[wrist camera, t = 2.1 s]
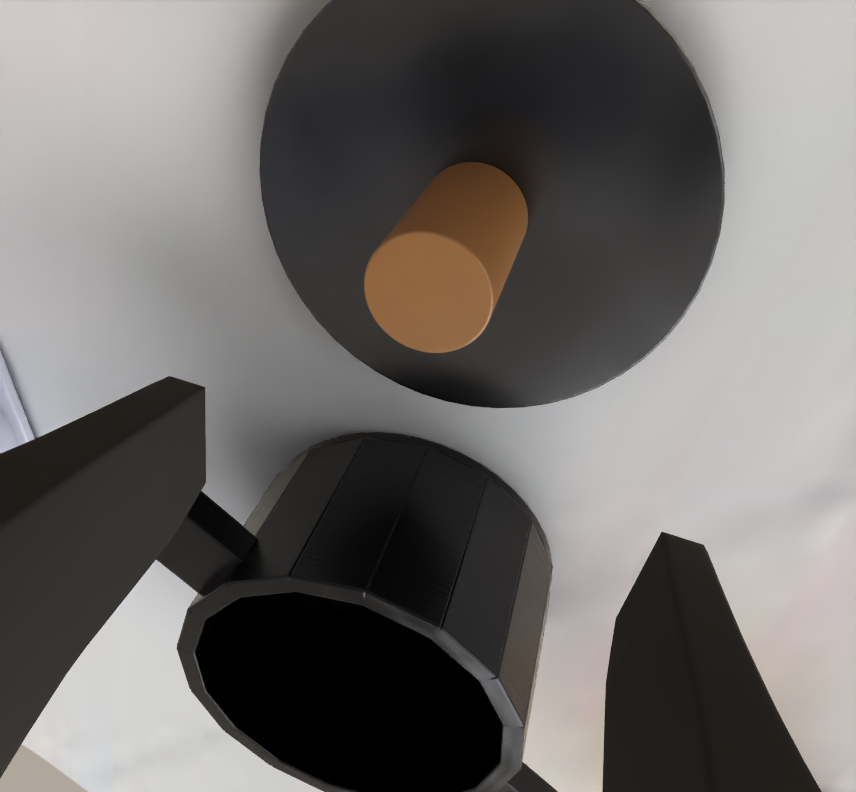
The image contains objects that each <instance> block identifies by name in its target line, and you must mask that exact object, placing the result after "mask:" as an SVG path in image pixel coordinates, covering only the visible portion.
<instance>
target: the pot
mask: <svg viewBox="0 0 856 792" xmlns="http://www.w3.org/2000/svg"><path fill="white" fill-rule="evenodd" d="M156 560H158V561H159V562H160V563H161V564H163V565H164V566H165V567H166V568H168V569H169V570H170V571H171V572H173V573H174V574H175V575H176V576H178V577H179V578H180V579H181V580H183V581H184V582H185V583H186V584H188V585H189V586H190V587H191V588H193V589H194V590H195V591H196V592H198V594H197V596H196V597H195V599H194V600H193V602H192V603H191V605H190V606H189V608H188V610H187V613H186V616H185V620H184V623H183V627H182V630H181V634H180V637H179V640H178V644H177V650H178V654H179V657H180V660H181V663H182V666H183V669H184V672H185V675H186V678H187V681H188V684H189V688H190V689H191V691H192V692H193V694H194V695H195V696H196V697H197V698H198V700H199V701H200V702H201V703H202V705H203V706H204V707H205V708H206V710H207V711H208V712H209V713H210V715H211V716H212V717H213V718H214V719H215V721H216V722H217V723H218V724H219V726H220V727H221V728H222V729H223V730H225V732H226V733H228V734H229V735H230V736H232V737H233V738H234V739H236V740H237V741H238V742H240V743H241V744H242V745H244V746H245V747H246V748H248V749H249V750H250V751H252V752H253V753H254V754H256V755H257V756H258V757H260V758H261V759H262V760H264V761H265V762H266V763H268V764H269V765H272V766H273V767H274V768H276V769H278V770H280V771H282V772H284V773H287V774H289V775H291V776H293V777H295V778H297V779H299V780H301V781H303V782H305V783H307V784H309V785H311V786H313V787H316V788H318V789H320V790H322V791H324V792H558V791H556V790H555V789H554V788H553V787H552V786H551V785H549V784H548V783H547V782H546V781H545V780H543V779H542V778H541V777H540V776H539V775H538V774H536V773H535V772H534V771H533V770H532V769H530V768H529V767H528V766H527V765H526V764H524V763H523V762H522V759H523V754H524V748H525V742H526V736H527V730H528V724H529V718H530V712H531V706H532V700H533V694H534V688H535V682H536V677H537V671H538V665H539V659H540V653H541V647H542V641H543V635H544V629H545V623H546V617H547V611H548V605H549V595H550V586H551V581H552V568H553V566H552V561H551V555H550V549H549V546H548V543H547V540H546V537H545V534H544V532H543V530H542V528H541V527H540V525H539V523H538V521H537V519H536V517H535V516H534V514H533V513H532V512H531V510H530V509H529V507H528V506H527V505H526V503H525V502H524V501H523V500H522V499H521V498H520V497H519V496H518V495H517V493H516V492H515V491H514V490H513V489H512V488H511V487H510V486H508V485H507V484H506V483H505V482H504V481H503V480H501V479H500V478H499V477H498V476H497V475H495V474H494V473H493V472H491V471H490V470H488V469H487V468H485V467H484V466H482V465H481V464H479V463H478V462H476V461H474V460H472V459H470V458H469V457H467V456H465V455H463V454H461V453H459V452H457V451H454V450H452V449H450V448H447V447H445V446H443V445H440V444H437V443H433V442H430V441H427V440H424V439H420V438H415V437H411V436H406V435H401V434H390V433H357V434H349V435H343V436H339V437H335V438H332V439H328V440H325V441H323V442H321V443H318V444H316V445H314V446H312V447H310V448H308V449H307V450H305V451H304V452H302V453H301V454H299V455H298V456H297V457H296V458H295V459H294V460H293V461H291V462H290V463H289V464H288V465H287V467H286V468H285V469H284V470H283V471H282V472H281V473H279V474H278V475H277V476H276V478H275V479H274V481H273V482H272V484H271V485H270V487H269V488H268V490H267V491H266V493H265V494H264V496H263V497H262V499H261V500H260V502H259V503H258V505H257V506H256V508H255V509H254V511H253V512H252V514H251V515H250V517H249V518H248V520H247V521H246V523H245V524H244V526H242V525H241V524H240V523H239V522H238V521H236V520H235V519H234V518H233V517H232V516H230V515H229V514H228V513H227V512H226V511H225V510H223V509H222V508H221V507H220V506H219V505H217V504H216V503H215V502H214V501H213V500H211V499H210V498H209V497H208V496H207V495H206V494H204V493H203V492H202V491H201V492H200V493H199V495H198V497H197V499H196V500H195V502H194V504H193V505H192V507H191V509H190V511H189V512H188V514H187V516H186V517H185V519H184V520H183V522H182V524H181V525H180V527H179V528H178V530H177V532H176V533H175V535H174V536H173V538H172V539H171V540H170V541H169V543H168V544H167V545H166V547H165V548H164V549H163V551H162V552H161V553H160V554H159V556H158V557H157V558H156Z"/></svg>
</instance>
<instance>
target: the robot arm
mask: <svg viewBox="0 0 856 792" xmlns="http://www.w3.org/2000/svg"><path fill="white" fill-rule="evenodd" d="M205 483H206V438H205V387H202V386H199V385H196V384H193V383H190V382H186V381H183V380H180V379H177V378H174V377H171V376H169V377H167V378H164V379H162V380H160V381H157V382H155V383H153V384H151V385H149V386H147V387H144V388H142V389H140V390H138V391H136V392H134V393H132V394H130V395H128V396H126V397H124V398H122V399H119V400H117V401H115V402H113V403H111V404H109V405H107V406H105V407H103V408H101V409H99V410H97V411H95V412H92V413H90V414H88V415H86V416H84V417H82V418H80V419H77V420H75V421H73V422H71V423H69V424H67V425H65V426H62V427H60V428H58V429H56V430H54V431H52V432H50V433H47V434H45V435H43V436H41V437H39V438H36V439H35V438H34V435H33V432H32V430H31V427H30V425H29V422H28V420H27V417H26V415H25V412H24V410H23V407H22V404H21V402H20V399H19V397H18V394H17V392H16V389H15V387H14V384H13V382H12V379H11V377H10V374H9V371H8V369H7V366H6V364H5V361H4V359H3V356H2V354H1V351H0V778H1V776H2V775H3V773H4V771H5V770H6V768H7V766H8V765H9V763H10V762H11V760H12V758H13V757H14V755H15V754H16V752H17V750H18V749H19V747H20V745H21V744H22V742H23V741H24V739H25V737H26V736H27V734H28V732H29V731H30V729H31V728H32V726H33V725H34V723H35V722H36V720H37V718H38V717H39V715H40V714H41V712H42V711H43V709H44V708H45V706H46V705H47V703H48V701H49V700H50V698H51V697H52V695H53V694H54V692H55V691H56V689H57V688H58V686H59V684H60V683H61V681H62V680H63V678H64V677H65V675H66V674H67V672H68V671H69V670H70V668H71V667H72V665H73V664H74V663H75V661H76V660H77V659H78V657H79V656H80V654H81V653H82V652H83V650H84V649H85V648H86V646H87V645H88V644H89V643H90V641H91V640H92V639H93V638H94V636H95V635H96V634H97V633H98V631H99V630H100V629H101V628H102V626H103V625H104V624H105V623H106V621H107V620H108V619H109V618H110V616H111V615H112V614H113V612H114V611H115V610H116V609H117V607H118V606H119V605H120V604H121V602H122V601H123V600H124V599H125V597H126V596H127V595H128V594H129V592H130V591H131V590H132V589H133V587H134V586H135V585H136V584H137V582H138V581H139V580H140V579H141V577H142V576H143V575H144V574H145V572H146V571H147V570H148V568H149V567H150V566H151V565H152V563H153V562H154V561H155V560H156V558H157V557H158V556H159V554H160V553H161V552H162V551H163V549H164V548H165V547H166V545H167V544H168V543H169V541H170V540H171V539H172V538H173V536H174V535H175V533H176V532H177V530H178V528H179V527H180V525H181V524H182V522H183V520H184V519H185V517H186V516H187V514H188V512H189V511H190V509H191V507H192V505H193V504H194V502H195V500H196V499H197V497H198V495H199V493H200V492H201V490H202V488H203V486H204V485H205ZM603 792H821V790H820V788H819V787H818V785H817V783H816V781H815V780H814V778H813V776H812V774H811V773H810V771H809V769H808V767H807V765H806V764H805V762H804V760H803V758H802V756H801V755H800V753H799V751H798V749H797V747H796V745H795V743H794V741H793V739H792V738H791V736H790V734H789V732H788V730H787V728H786V726H785V724H784V723H783V721H782V719H781V717H780V715H779V713H778V711H777V709H776V707H775V705H774V703H773V701H772V699H771V697H770V695H769V693H768V690H767V688H766V686H765V684H764V682H763V680H762V678H761V676H760V673H759V671H758V669H757V667H756V665H755V663H754V661H753V659H752V656H751V654H750V652H749V650H748V648H747V645H746V643H745V641H744V639H743V636H742V634H741V632H740V630H739V627H738V625H737V623H736V620H735V618H734V616H733V613H732V611H731V609H730V606H729V604H728V601H727V599H726V596H725V594H724V592H723V589H722V587H721V584H720V582H719V579H718V577H717V574H716V572H715V569H714V567H713V564H712V562H711V560H710V557H709V555H708V552H707V550H706V549H705V547H704V545H702V544H699V543H696V542H692V541H689V540H686V539H683V538H680V537H677V536H674V535H670V534H667V533H664V532H661V534H660V536H659V538H658V540H657V542H656V544H655V546H654V548H653V549H652V551H651V553H650V555H649V557H648V559H647V561H646V563H645V565H644V566H643V568H642V570H641V572H640V574H639V576H638V578H637V580H636V582H635V583H634V585H633V587H632V589H631V591H630V593H629V595H628V597H627V599H626V600H625V602H624V604H623V606H622V608H621V610H620V612H619V614H618V616H617V617H616V621H615V628H614V634H613V640H612V646H611V652H610V659H609V666H608V673H607V680H606V699H605V728H604V763H603Z"/></svg>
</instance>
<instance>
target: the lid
mask: <svg viewBox="0 0 856 792" xmlns="http://www.w3.org/2000/svg"><path fill="white" fill-rule="evenodd" d="M260 181H261V193H262V201H263V206H264V211H265V216H266V220H267V225H268V229H269V232H270V235H271V238H272V241H273V244H274V247H275V250H276V253H277V255H278V257H279V259H280V261H281V263H282V266H283V268H284V270H285V272H286V274H287V277H288V278H289V280H290V282H291V283H292V285H293V287H294V288H295V290H296V292H297V293H298V295H299V297H300V298H301V300H302V301H303V302H304V304H305V305H306V306H307V308H308V309H309V310H310V312H311V313H312V314H313V316H314V317H315V318H316V320H317V321H318V322H319V323H320V324H321V325H322V326H323V327H324V328H325V329H326V330H327V332H328V333H329V334H330V335H331V336H332V337H333V338H334V339H335V340H336V341H337V342H338V343H340V344H341V345H342V346H343V347H344V348H345V349H346V350H348V351H349V352H350V353H351V354H352V355H353V356H355V357H356V358H357V359H359V360H360V361H362V362H363V363H365V364H366V365H367V366H369V367H370V368H372V369H373V370H375V371H376V372H378V373H380V374H382V375H383V376H385V377H387V378H389V379H391V380H392V381H394V382H396V383H398V384H400V385H402V386H405V387H407V388H409V389H412V390H414V391H417V392H419V393H421V394H424V395H428V396H431V397H434V398H437V399H441V400H444V401H448V402H453V403H458V404H464V405H469V406H478V407H490V408H515V407H528V406H535V405H542V404H549V403H552V402H556V401H560V400H564V399H568V398H571V397H575V396H577V395H580V394H582V393H585V392H587V391H590V390H592V389H595V388H597V387H600V386H601V385H603V384H605V383H607V382H609V381H611V380H612V379H614V378H616V377H618V376H620V375H622V374H623V373H624V372H626V371H627V370H629V369H630V368H631V367H633V366H634V365H636V364H637V363H638V362H640V361H641V360H643V359H644V358H645V357H646V356H647V355H648V354H649V353H651V352H652V351H653V350H654V349H655V348H656V347H657V346H658V345H659V344H660V343H661V342H662V341H663V340H664V339H665V338H666V337H667V336H668V335H669V334H670V332H671V331H672V330H673V329H674V328H675V326H676V325H677V324H678V323H679V321H680V320H681V319H682V318H683V317H684V315H685V313H686V312H687V310H688V309H689V307H690V305H691V304H692V302H693V301H694V299H695V297H696V296H697V294H698V292H699V291H700V288H701V286H702V284H703V282H704V279H705V277H706V275H707V273H708V270H709V268H710V266H711V263H712V260H713V256H714V253H715V249H716V246H717V243H718V239H719V236H720V230H721V223H722V216H723V209H724V163H723V156H722V150H721V143H720V136H719V131H718V127H717V124H716V121H715V117H714V114H713V111H712V107H711V104H710V101H709V98H708V95H707V93H706V91H705V89H704V87H703V85H702V82H701V80H700V78H699V76H698V74H697V72H696V70H695V68H694V65H693V64H692V62H691V61H690V59H689V58H688V56H687V55H686V53H685V52H684V50H683V49H682V47H681V46H680V44H679V43H678V41H677V40H676V38H675V37H674V35H673V34H672V33H671V32H670V31H669V30H668V29H667V27H666V26H665V25H664V24H663V23H662V22H661V21H660V20H659V19H658V18H657V16H656V15H655V14H654V13H653V12H652V11H651V10H650V9H649V8H648V7H647V6H646V5H645V4H643V3H642V2H641V1H640V0H331V1H330V2H329V3H328V4H327V5H326V6H325V7H324V8H323V9H322V10H321V11H320V12H319V13H318V15H317V16H316V17H315V18H314V19H313V20H312V21H311V23H310V24H309V25H308V26H307V27H306V28H305V29H304V31H303V32H302V34H301V35H300V37H299V39H298V40H297V42H296V43H295V45H294V46H293V48H292V49H291V51H290V52H289V54H288V56H287V57H286V60H285V62H284V64H283V66H282V68H281V70H280V73H279V75H278V77H277V79H276V81H275V83H274V87H273V90H272V93H271V96H270V100H269V103H268V106H267V109H266V113H265V119H264V125H263V131H262V137H261V147H260Z"/></svg>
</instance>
